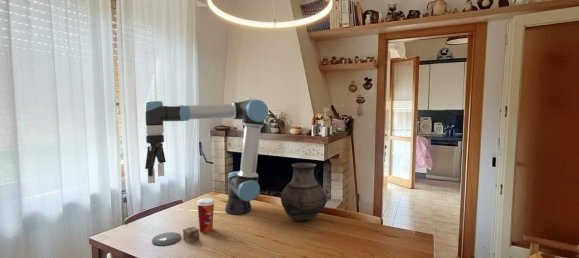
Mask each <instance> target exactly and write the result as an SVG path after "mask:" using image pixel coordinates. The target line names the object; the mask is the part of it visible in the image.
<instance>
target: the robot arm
mask: <svg viewBox="0 0 579 258" xmlns="http://www.w3.org/2000/svg"><path fill="white" fill-rule="evenodd" d="M268 116H269V107H268V106H267V104H266V103H265V102H264V101H263V100H260V99H248V100H243V101H242V100H241V101H237V102H234V101H233V102H232V103H230V104H229V103H228V104H195V105H193V104H192V105H190V104H189V105H183V104H182V105H181V104H180V105H178V104H177V105H176V104H175V105H164V103H163V101H162V100H161V101H160V100H159V101H158V100H147V101H146V102H145V104H144V117H145V118H144V119H145V127H144V129H145V134H146V136H145V141H146V144H149V146H147V147H146V149H147V153H146V159H145V165H144V166H145V167H144V169H145V170H147V183H148V184H155V183H156V175H155V174H156V173H155V172H156V171H155V170H156V169H155V168H154V167H155V163H156V159H157V176H158V177H165V163H167V162H166V161H167V160H166V157H165V151H164V147H163V146H164V143H165V137H164V133H165V130H164V128H165V127H164V122H186V121H187V122H188V121H189V120H190V121H191V120H207V119H210V120H211V119H233V120H242V122H241V123H242V125H243V127H244V130H243V142H242V147H241V148H242V149H241V150H242V152H241V157H240V169H239V171H232V172H231V171H230V172H229V173H228V176H227V180H228V181H227V184H228V185H227V189H228V190H227V193H228V196H227V197H228V198H227V202H226V204H225V208H224V209H225V210H224V211H225V213H226V214H228V215H231V216H232V215H233V216H235V215H236V216H238V215H240V216H241V215H246V214H249V213H250V212H252V204H251V201H254V200H255V199H257V197H258V196H259V194H260V192H261V187H260V184H259V183H258V182H259V174H258V173H257V165H258V156H259V146H260V137H261V129H262V128H263V127H264V126H265V120H266V119H267V118H268Z"/></svg>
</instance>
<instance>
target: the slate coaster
mask: <svg viewBox="0 0 579 258" xmlns="http://www.w3.org/2000/svg"><path fill="white" fill-rule="evenodd" d="M181 238H182V235H181V234H180V233H178V232H171V231H170V232H163V233H160V234H157V235H155V236H154V237H152V239H151V243H152V245H154V246H159V247H160V246H162V247H163V246H164V247H165V246H170V245H173V244H175V243H178V242H179V241H180V240H181Z"/></svg>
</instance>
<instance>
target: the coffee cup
mask: <svg viewBox="0 0 579 258" xmlns="http://www.w3.org/2000/svg"><path fill="white" fill-rule="evenodd" d="M196 205H197V211H198V213H197V214H198V225H199V233H202V234H206V233H207V234H208V233H210V232H212V231H213V228H214V210H215V209H214V208H215V201H214V198H210V197H205V198H204V197H203V198H200V199H198V200H197V203H196Z"/></svg>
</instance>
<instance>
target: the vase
mask: <svg viewBox="0 0 579 258" xmlns="http://www.w3.org/2000/svg"><path fill="white" fill-rule="evenodd" d="M291 167H292V169H293V172H292V178H291V181H289V182H288V183H287V184H286V185H285V187H284V188H283V190H282V191H281V194H280V202H281V206H282V207H283V209H284V211H285V213H286V215H287V216H288V217H289V218H291V219H293V220H296V221H299V222H300V221H301V222H304V221H305V222H307V221H310V220H312V219H314V218H315V217H316V216H317V215H318V214H320V213H321V212H322V210H323V209H324V208H325V207H326V203H327V195H326V193H325V190H324V189H323V187H322V185H321V184H320V183H319V182H317V179H316V178H315V168H316V167H317V163H311V162H295V163H291Z"/></svg>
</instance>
